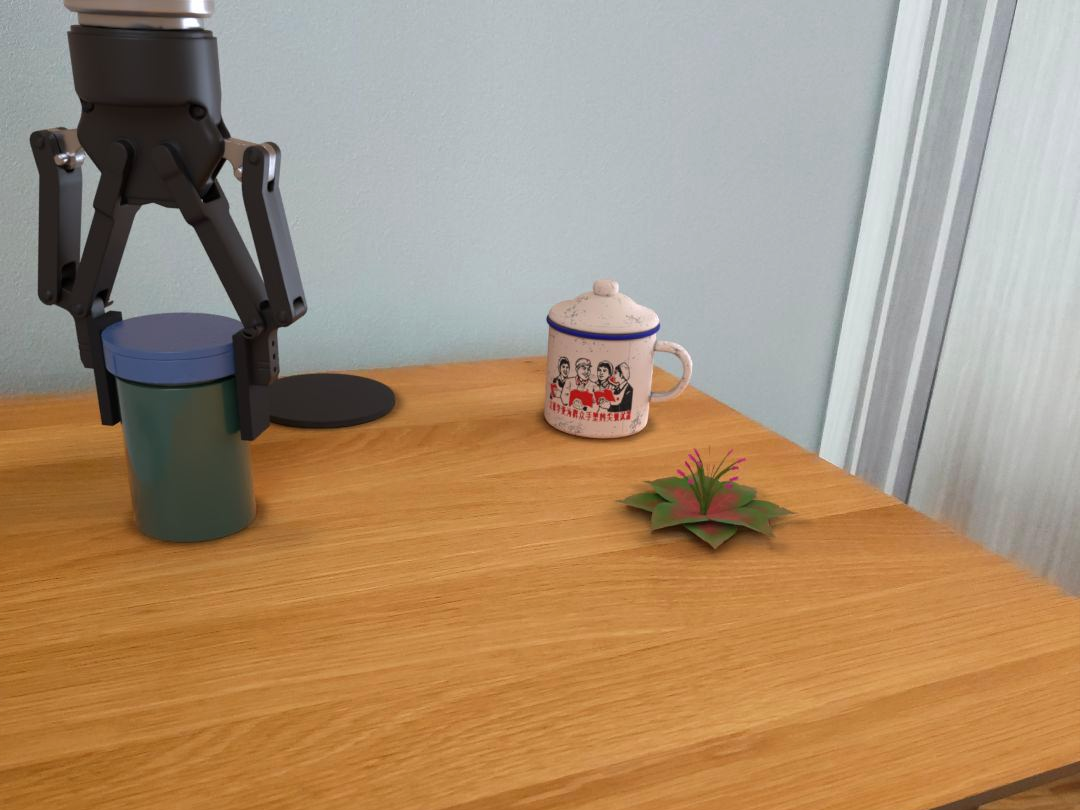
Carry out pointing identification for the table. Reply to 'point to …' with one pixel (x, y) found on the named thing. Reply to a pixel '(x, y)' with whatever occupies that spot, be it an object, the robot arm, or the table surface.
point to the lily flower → (706, 504)
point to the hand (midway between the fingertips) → (186, 425)
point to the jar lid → (171, 347)
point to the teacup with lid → (604, 364)
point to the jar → (186, 459)
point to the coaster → (327, 400)
